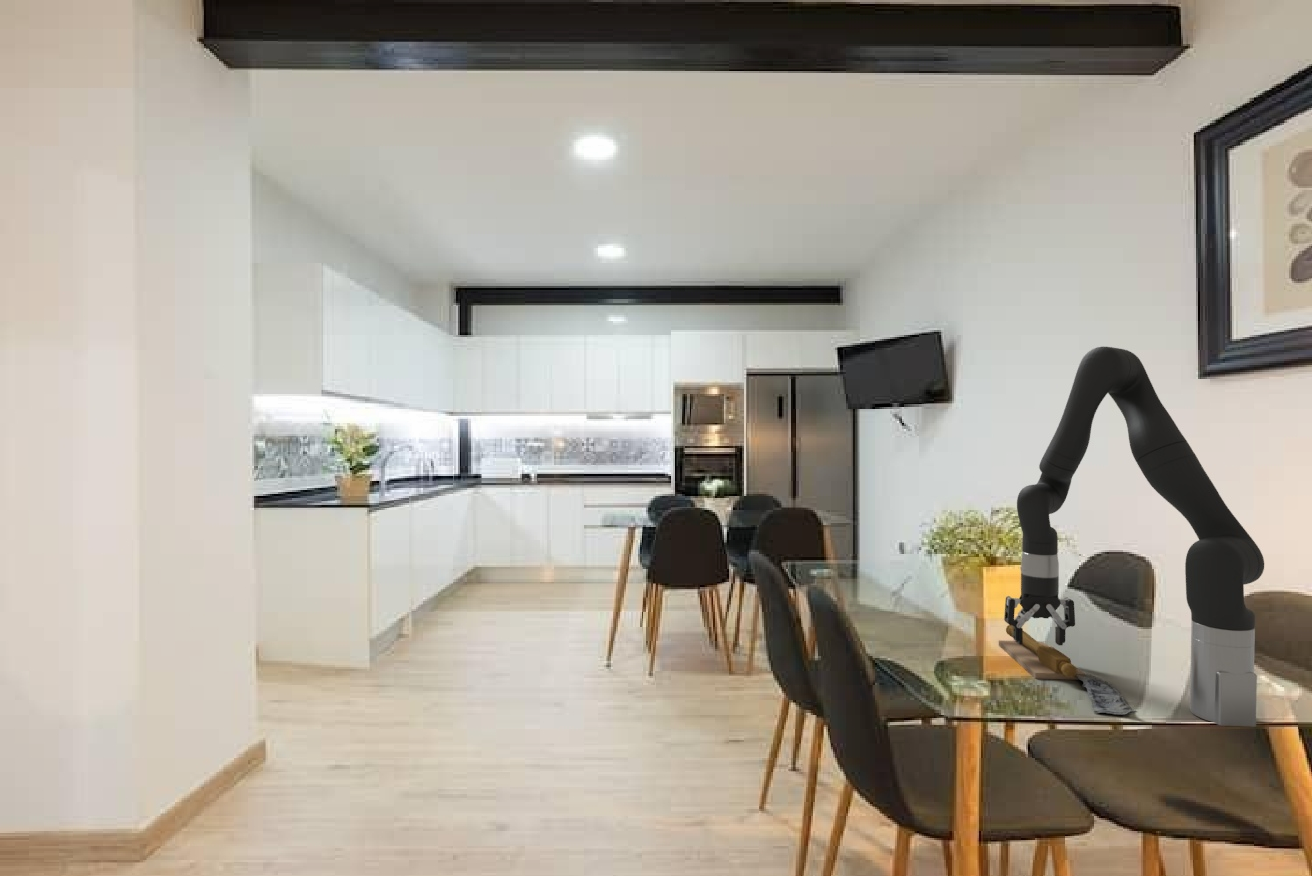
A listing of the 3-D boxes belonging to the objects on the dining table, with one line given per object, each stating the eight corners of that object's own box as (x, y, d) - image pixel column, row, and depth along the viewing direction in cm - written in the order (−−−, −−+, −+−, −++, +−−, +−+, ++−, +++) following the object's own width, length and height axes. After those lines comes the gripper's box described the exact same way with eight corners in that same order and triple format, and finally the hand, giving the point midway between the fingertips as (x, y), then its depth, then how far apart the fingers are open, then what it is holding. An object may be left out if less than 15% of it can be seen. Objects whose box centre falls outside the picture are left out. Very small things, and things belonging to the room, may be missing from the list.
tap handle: (1017, 623, 180) (1080, 665, 150) (1017, 635, 180) (1079, 679, 150) (1005, 623, 180) (1064, 664, 150) (1004, 635, 180) (1064, 679, 150)
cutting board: (1085, 679, 153) (1085, 674, 153) (1035, 678, 154) (1035, 672, 154) (1042, 646, 175) (1042, 641, 175) (998, 645, 176) (998, 640, 176)
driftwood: (1072, 676, 155) (1072, 667, 155) (1108, 680, 153) (1108, 670, 153) (1094, 715, 136) (1094, 704, 136) (1137, 719, 134) (1137, 708, 134)
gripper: (1012, 575, 161) (1012, 648, 161) (1081, 576, 159) (1080, 650, 160) (1000, 568, 168) (1000, 637, 169) (1065, 569, 167) (1065, 639, 167)
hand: (1039, 643), depth 164 cm, fingers open, 8 cm apart
